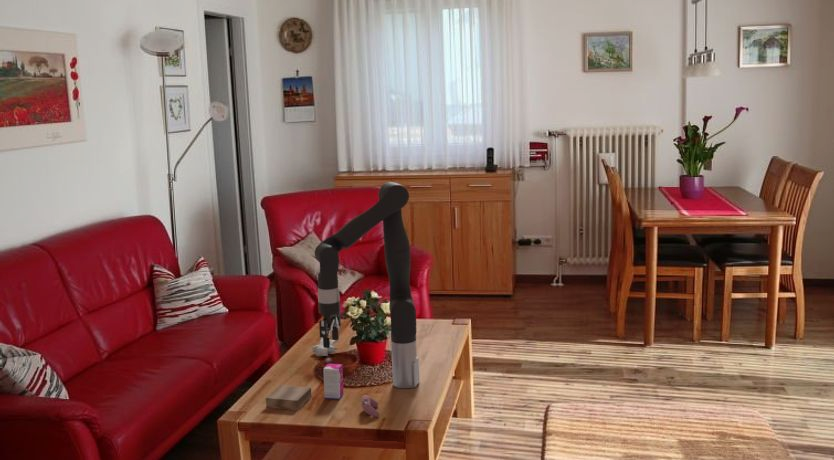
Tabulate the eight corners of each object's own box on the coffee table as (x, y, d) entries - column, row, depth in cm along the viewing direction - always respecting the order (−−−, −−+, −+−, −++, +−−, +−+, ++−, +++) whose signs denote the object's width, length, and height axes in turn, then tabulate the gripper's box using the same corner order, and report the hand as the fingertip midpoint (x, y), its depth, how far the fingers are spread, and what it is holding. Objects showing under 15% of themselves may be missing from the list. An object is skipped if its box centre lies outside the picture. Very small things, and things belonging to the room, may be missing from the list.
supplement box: (339, 400, 300) (338, 369, 298) (323, 399, 301) (322, 368, 299) (344, 393, 306) (342, 363, 304) (328, 393, 307) (327, 363, 305)
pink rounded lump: (368, 411, 294) (358, 394, 292) (379, 404, 294) (369, 388, 292) (368, 422, 284) (358, 406, 283) (380, 416, 284) (370, 399, 282)
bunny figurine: (309, 349, 343) (318, 333, 357) (310, 360, 345) (319, 344, 359) (331, 349, 342) (340, 333, 356) (332, 360, 343) (341, 344, 357)
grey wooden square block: (311, 398, 304) (310, 387, 303) (298, 411, 293) (297, 400, 292) (281, 395, 307) (280, 385, 306) (266, 408, 296) (265, 397, 295)
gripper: (331, 305, 289) (333, 351, 292) (346, 294, 302) (348, 337, 305) (311, 304, 291) (313, 349, 294) (326, 293, 304) (328, 336, 307)
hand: (331, 343), depth 300 cm, fingers open, 8 cm apart
